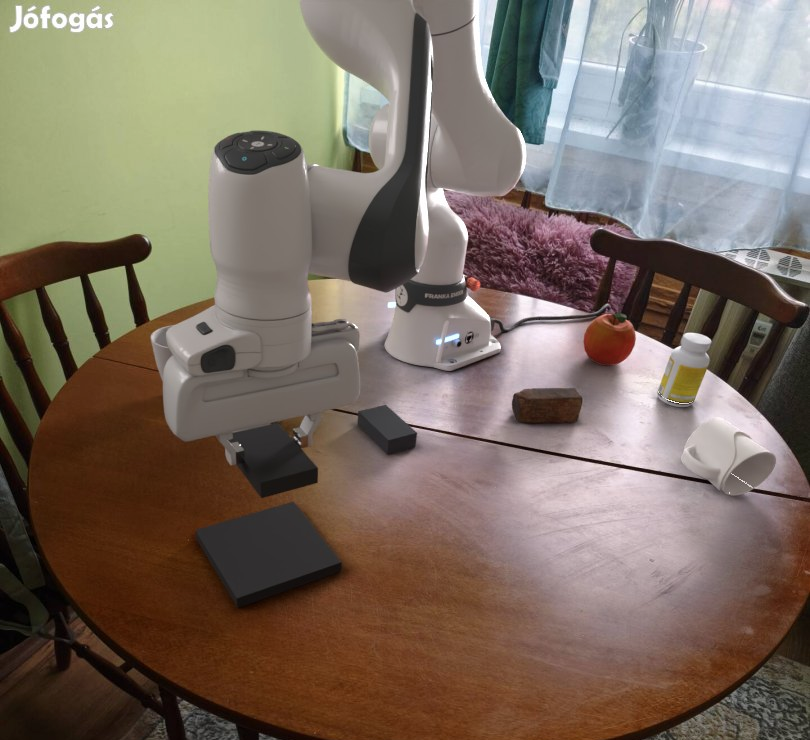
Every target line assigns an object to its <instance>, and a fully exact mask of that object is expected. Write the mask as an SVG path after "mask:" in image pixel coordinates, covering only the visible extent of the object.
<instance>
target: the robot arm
mask: <svg viewBox="0 0 810 740" xmlns="http://www.w3.org/2000/svg"><path fill="white" fill-rule="evenodd" d="M298 3H299V4H298V5H299V9H300V13H301V16H302V19H303V22H304V24H305V27H306V29H307V31H308V34H310V36H311V38H312V39H313V41H314V42H315V44H316V45H317V46H318V48H319V49H320V51H322V53H323V54H324V55H325V56H326V57H327V58H328V59H329V60H330V61H331V62H332V63H334V64H335V65H336V66H337V67H339V68H340V69H342V71H343V70H344V71H345V72H346V73H349V74H350V75H353V76H355V77H356V78H358V79H359V80H362V81H363V82H364V83H366V84H368V85H370V86H371V87H372V88H373V89H375V90H376V91H377V92H379V93H380V94H381V95H382V96H384V98H385V99H386V100H387V101H388V103H385V104H383V106H381V107H380V109H379V110H378V111H377V112H376V114H375V115H374V116H373V119H372V120H371V124H370V127H369V131H368V150H369V154H370V158H371V160H372V162H373V164H374V166H375V167H376V168H377V170H376V171H373V172H366V173H365V172H357V171H352V170H348V169H347V170H346V169H342V168H341V169H340V168H334V167H329V166H323V165H319V164H317V163H316V164H315V163H310V162H307V161H306V156H305V152H304V149H303V146H302V145H301V144H300V143H299V142H298V141H297V140H296V139H294V138H293V137H291V136H288V135H285V134H283V133H280V132H275V131H271V130H258V129H257V130H248V131H243V132H236V133H233V134H231V135H228V136H226V137H224V138H223V139H221V140H220V141H218V142H217V143H216V144H215V146H214V147H213V149H212V152H211V157H210V164H209V172H208V186H207V220H208V221H207V222H208V223H207V224H208V238H209V249H210V250H209V251H210V255H211V258H212V261H213V264H214V266H215V271H216V285H215V289H214V294H213V295H214V297H213V298H214V304H213V305H212V306H210V307H208V308H206V309H204V310H203V311H201V312H199V313H197V314H195V315H193V316H191V317H189V318H187V319H185V320H182V321H181V322H178V323H176V324H173V325H174V326H172V325H171V326H172V327H171V328H169V329H168V330H167V332H166V341H167V344H168V347H169V349H170V351H171V353H172V355H173V356H171V357H170V358H169V360H168V361H167V363H166V365H165V368H164V372H163V381H162V402H163V413H164V418H165V422H166V424H167V426H168V428H169V429H170V431H171V432H172V434H173V435H174V436H176V437H177V438H178V439H180V440H181V441H183V442H192V441H196V440H200V439H204V438H205V439H207V438H210V437H214V436H215V437H216V439H217V440H218V442H219V443H220V444H221V445H222V446H223V448H224V455H225V459H226V461H227V462H228V465H230V466H231V467H233V466H237V464H241V463H244V462H245V459H244V455H245V454H244V449H243V448H242V447H240V444H239V443H238V442H234V443H230V442H229V441H228V440H230V439H233V431H237V430H242V429H246V428H251V427H255V426H260V425H264V424H269V423H270V424H274V423H279V422H282V421H286V420H291V419H295V418H299V417H303V418H302V421H301V423H300V425H299V426H298V427H295V428H292V435H293V437H292V439H293V440H294V442H295V443H297V445H298V446H299V447H300V448H301V449H305V448H309V447H312V446H313V434H314V433H315V432H316V430H317V428H318V427H319V426H320V423H321V422H322V420H323V412H326V411H331V410H336V409H340V408H345V407H348V406H353V405H354V404H355V403H356V401H357V400H358V398H359V397H360V395H361V377H360V376H361V375H360V365H359V359H358V352H359V349H360V337H361V336H360V335H361V334H360V330H359V329H358V326H356V324H355V323H353V322H350V321H348V319H346V318H337V319H333V320H331V321H316V322H312V317H313V315H312V313H313V312H312V311H313V309H312V308H313V307H312V302H313V301H312V294H311V290H310V286H309V281H308V279H309V278H308V277H309V274H310V275H314V276H315V275H316V276H319V277H325V278H330V279H335V280H336V279H337V280H341V281H346V282H350V283H352V284H354V285H358V286H361V287H364V288H368V289H371V290H375V291H379V292H382V293H385V294H386V293H387V294H388V293H390V292H392V291H394V290H395V293H394V294H395V295H394V296H395V298H394V299H395V301H390V302H388V303H387V308H394V311H393V317H392V321H391V324H390V328H389V330H388V334H387V336H386V339H385V341H384V349H385V351H386V352H387V353H388V355H390V356H391V357H393V358H394V359H397V360H399V361H401V362H404V363H407V364H410V365H415V366H419V367H420V366H421V367H430V368H435V369H439V370H441V371H446V372H451V371H455V370H457V369H460V368H462V367H466V366H468V365H471V364H474V363H476V362H478V361H481V360H484V359H486V358H490V357H492V356H494V355H498V354H500V353H501V343H500V342H499V340H498V339H496V337H494V336H493V335H492V331H494V327H495V324H497V325H498V327H499V330H500V331H501V332H503V333H507V332H510V331H512V330H514V329H517V328H518V327H519V326H520V325H522V324H524V323H527V322H534V321H562V320H565V321H566V320H580V319H588V318H595V317H597V316H600V315H602V313H604V311H605V310H606V309H607V310H608V311H611V310H612V308H611V305H610V304H608V303H605V304H604V305H603V306H602V307H601V308H600V309H599V310H598V311H595V312H590V313H585V314H573V315H572V314H571V315H560V316H559V315H547V316H545V315H542V316H541V315H540V316H530V317H525V318H522V319H520V320H518V321H517V322H515V323H514V324H513V325H511V326H510V327H504V324H503V322H502V320H501V319H498V318H496V317H495V318H494V317H492V316H490V315H489V314H487V312H486V311H485V310H484V309H483V308H482V306H480V305H479V304H478V303H477V302H476V301H475V300H474V299H472V297H470V295H469V293H468V289H469V290H470V291H472V292H474V293H476V292H478V291H479V290H480V288H481V282H480V281H479V280H478V279H475V278H474V277H468V276H467V275H465V274H464V268H465V262H466V255H467V247H468V243H469V235H468V229H467V227H466V225H465V223H464V221H463V220H462V218H461V217H460V216H459V215H458V214H457V213H456V212H455V211H453V209H451V207H450V205H449V203H448V202H447V199H446V197H445V194H444V190H446V191H449V192H453V193H454V192H455V193H458V194H462V195H467V196H470V197H477V198H478V197H483V198H485V197H486V198H487V197H488V198H489V197H491V198H492V197H504V196H506V195H507V194H508V193H510V192H511V191H512V190H513V189H514V188H515V187H516V185H517V184H518V183H519V181H520V179H521V177H522V175H523V172H524V169H525V166H526V160H527V159H526V158H527V149H526V144H525V139H524V137H523V134H522V133H521V130H520V129H519V128H518V127H517V126H516V125H515V124H514V123H512V121H511V120H509V118H508V117H507V116H506V115H505V114H504V112H503V111H502V109H500V106H499V105H498V103H497V102H496V100H495V99H494V96H493V95H492V92H491V90H490V88H489V86H488V83H487V80H486V77H485V74H484V70H483V64H482V55H481V43H480V42H481V41H480V20H479V19H480V17H479V16H480V15H479V14H480V13H479V0H298ZM227 439H228V440H227Z"/></svg>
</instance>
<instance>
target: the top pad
mask: <svg viewBox="0 0 810 740" xmlns="http://www.w3.org/2000/svg"><path fill="white" fill-rule="evenodd" d="M356 425H357V426H358V428H360V429H361V431H363V432H364V433H365V434H366V435H367V436H368V437H369V438H370V439H371V440H372V441H373V443H375V444H376V445H377V446H378V447H379V448H380V449H381V450H382V451H383V452H384V453H385V454H386V455H392V454H394V453H398V452H402V451H405V450H409V449H414V448H416V445H417V437H418V432H417V430H415V429H414V428H413V427H411V426H410V425H409V424H408V423H407V422H406V421H405V420H404V419H402V417H400V416H399V415H398V414H397V413H396V412H395V411H393V409H392V408H390V407H389V406H388V405H387V404H383V405H382V404H381V405H379V406H374V407H370V408H366V409H361V410H358V411H357V424H356Z"/></svg>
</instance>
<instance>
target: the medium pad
mask: <svg viewBox="0 0 810 740" xmlns="http://www.w3.org/2000/svg"><path fill="white" fill-rule="evenodd" d="M227 440H228V439H227ZM228 441H229V442H230V443H234V442H238V443H239V444H240V447H242V448H243V449H244V454H245V455H244V459H245V462H244V463H241V464H237V465H236V466H237V468H238V469H239V470H240V472H241V473H242V475H243V476H244V477H245V478H246V480H247V481H248V482H249V484H250V485H251V486H252V488H253V489H254V491H255V492H256V493H257V495H258V496H259V497H260V498H261V499H264V498H269V497H271V496H275V495H276V496H277V495H279V494H282V493H286V492H290V491H293V490H298V489H300V488H304V487H308V486H311V485H315V484H318V483H319V467H318V466H317V465H316V463H314V462H313V461H312V459H311V458H310V457H309V456H308V455H307V453H305V451H304V450H303V448H300V447H299V446H298V445H297V443H295V442H294V440H293V437H291V435H290V434H289V433H288V432H287V430H285V429H284V428H283V426H282V425H281V424H280V422H274V423H270V425H266V426H261V427H257V428H252V429H248V430H243V431H239V432H234V433H233V439H230V440H228Z"/></svg>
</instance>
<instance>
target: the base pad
mask: <svg viewBox="0 0 810 740" xmlns="http://www.w3.org/2000/svg"><path fill="white" fill-rule="evenodd" d="M194 532H195V539H196V541H197V543H198V544H199V546H200V548H201V550H202V551H203V553H204V554H205V556H206V559H208V561H209V563H210V564H211V566H212V568H213V570H214V571H215V573H216V574H217V576H218V578H219V579H220V581H221V583H222V584H223V586H224V588H225V589H226V591H227V592H228V594H229V596H230V598H231V600H232V601H233V603H234V604H235V606H236V607H237V609H238V608H241V607H244V606H247V605H250V604H253V603H256V602H258V601H261V600H264V599H267V598H270V597H273V596H275V595H278V594H281V593H284V592H287V591H289V590H290V591H291V590H292V589H295V588H298V587H301V586H304V585H307V584H310V583H313V582H316V581H319V580H322V579H324V578H326V577H327V578H328V577H330V576H332V575H336V574H338V573H340V572H342V569H343V568H342V565H343V564H342V563H343V562H342V560H341V559H340V558H339V556H337V554H336V553H335V552H334V551H333V549H332V548H331V547H330V546H329V544H328V543H327V542H326V540H325V539H324V538H323V537H322V535H321V534H320V533H319V532H318V530H317V529H316V528H315V527H314V525H313V524H312V523H311V522H310V520H309V519H308V517H307V516H306V515H305V514H304V512H303V511H302V510H301V509H300V508H299V506H298V505H297V503H296V502H295V501H289V502H287V503H284V504H279V505H277V506H273V507H270V508H266V509H263V510H259V511H255V512H252V513H248V514H246V515H242V516H238V517H235V518H231V519H228V520H224V521H221V522H218V523H214V524H211V525H208V526H204V527H200V528H197V529H195V530H194Z"/></svg>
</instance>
